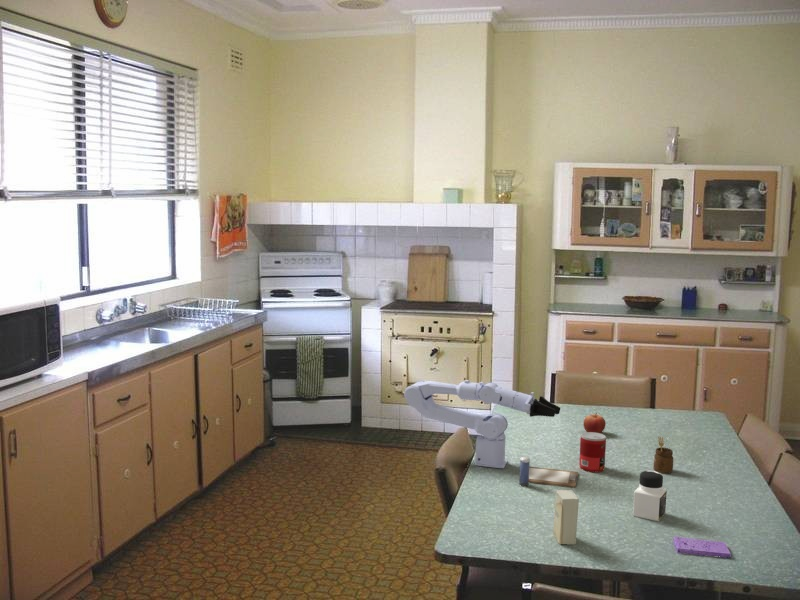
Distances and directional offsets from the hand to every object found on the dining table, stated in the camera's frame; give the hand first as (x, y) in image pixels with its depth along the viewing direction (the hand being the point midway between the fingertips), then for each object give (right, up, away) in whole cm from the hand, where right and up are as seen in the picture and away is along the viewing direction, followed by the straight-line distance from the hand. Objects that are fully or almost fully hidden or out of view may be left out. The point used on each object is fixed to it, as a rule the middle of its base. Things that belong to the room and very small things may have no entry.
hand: (557, 412), depth 247 cm
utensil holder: (+35, -20, +7) cm, 41 cm away
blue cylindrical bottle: (-12, -21, -8) cm, 25 cm away
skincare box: (-7, -26, -46) cm, 54 cm away
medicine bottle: (+20, -24, -29) cm, 43 cm away
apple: (+23, -15, +46) cm, 54 cm away
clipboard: (-2, -20, -1) cm, 20 cm away
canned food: (+13, -19, +8) cm, 25 cm away
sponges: (+26, -28, -51) cm, 63 cm away
